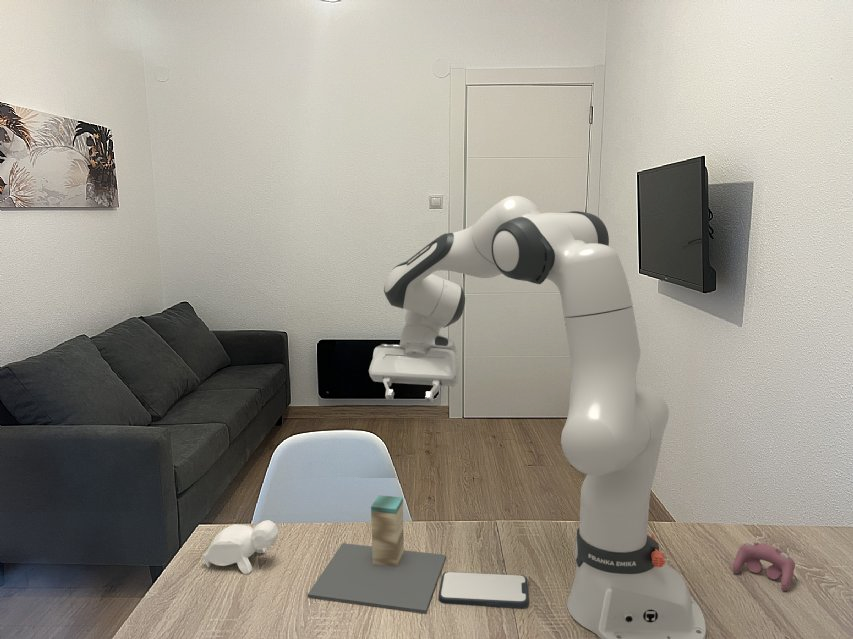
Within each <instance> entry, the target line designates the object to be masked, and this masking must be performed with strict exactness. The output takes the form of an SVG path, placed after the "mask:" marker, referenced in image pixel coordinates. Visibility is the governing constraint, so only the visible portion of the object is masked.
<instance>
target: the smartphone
mask: <svg viewBox="0 0 853 639" xmlns="http://www.w3.org/2000/svg"><path fill="white" fill-rule="evenodd" d="M528 585H529V584H528V578H527V577H526V576H525V575H521V574H508V573H507V574H506V573H503V574H502V573H501V574H500V573H484V572H483V573H482V572H462V571H461V572H460V571H459V572H458V571H445V572H444V573H442V575H441V580H440V586H439V590H438V601H439V602H440V603H442V604H446V605H447V604H449V605H462V606H476V607H490V608H506V609H522V610H523V609H526V608H528V606H529V586H528Z"/></svg>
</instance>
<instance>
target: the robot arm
mask: <svg viewBox="0 0 853 639" xmlns="http://www.w3.org/2000/svg"><path fill="white" fill-rule="evenodd" d="M608 231H609V230H608V229H607V227H606V224H605V223H604V222H603V220H602V219H601V218H600V217H599V216H598V215H595V214H592V213H589V212H585V211H577V210H574V211H562V212H550V211H549V212H541V211H540V209H539V208H538V206H537V205H536V204H535V203H534V202H533V201H531V200H530V199H529V198H528V197H527V198H526V197H524V196H521V195H511V196H510V195H509V196H507V197H505V198H503V199H501V200H500V201H498V202H497V203H495V204H494V205H493V206H491V207H490V208H489V209H488V210H486V211H485V213H484V214H482V215H481V216H480V217H479V219H477V220H476V222H475V223H474V224H472V225H471V226H468V227H466V228H464V229H460V230H459V231H453V232H447V233H443V234H441V235H439V236H438V237H436V238H435V239H433V240H432V241H431V242H430V243H428V244H427V245H425V246H424V247H423V248H422V249H420V250H418V251H417V253H415V254H414V255H413V256H411V257H410V258H409V259H408V260H406V261H404V262H401V263H399V264H398V265H395V266H394V267H393V268H392V270H391V271H390V272H389V274H388V275H387V277H386V280H385V283H384V287H383V293H384V295H385V298H386V299H387V302H389V305H391V306H392V307H396V308H399V309H403V310H406V311H405V312H406V313H405V318H404V320H405V324H404V326H403V328H402V331H401V336H400V342H399V344H395V343H393V344H387V343H381V344H380V345H378V346H376V347H375V348H374V349H373V353H372V354H373V355H372V360H371V362H370V365H369V369H368V373H369V375H368V376H369V377H370V378H371V380H372V381H373V382H375V383H376V382H378V383H383V384H384V387H385V395H384V397H385V399H386V400H394V396H395V392H394V389H393V388H390V387H391V386H392V384H393V383H394V384H407V385H425V386H432V387H431V389H430V391H425V397H424V400H425V402H427V403H433V402H434V396H436V395H437V393H438V392H439V391H440V390H441V386H442V387H455V386H456V385H457V384H458V383H459V378H460V377H459V372H460V371H459V364H458V363H459V362H458V358H457V348H456V344H455V341H454V340H453V339H451V338H448V337H446V336H442V335H440V330H441V329H442V328H443V329H444V328H447V327H449V326H451V325H453V324H455V323H456V322H458V321H459V320H460V319H461V317H462V315H463V312H464V309H465V306H466V295H465V292H464V289H463V287H462V286H461V285H460V284H457V283H456V282H454V281H452V280H448V279H446V278H443V277H440V276H438V275H436V274H434V272H438V271H447V272H453V273H459V274H463V275H467V276H471V277H474V278H479V279H480V278H481V279H490V278H491V279H492V278H495V277H498V276H500V275H503V276H505V277H507V278H509V279H513V280H517V281H523V282H528V283H532V284H535V285H536V284H537V285H541V284H543V283H544V282H545V281H546V280H549V281H551V282H552V283H553V284H554V285H555V286H556V287H557V290H558V291H559V295H560V298H561V307H562V313H563V318H564V320H563V321H564V326H565V332H566V337H567V344H568V350H569V356H570V387H569V388H570V390H569V391H570V392H569V405H568V413H567V416H566V417H567V419H566V421H565V424H564V426H563V428H562V431H561V436H560V443H561V448H562V452H563V455H564V456H565V458H566V460H567V461H568V462H569V463H570V464H571V466H572V467H573V468H575V469H576V470H577V471H579V472H581V473H582V474H585V475H586V476H585V478H584V480H583V482H582V484H581V487H580V505H579V506H580V508H579V527H577V530H576V536H575V547H574V548H575V550H574V551H575V552H574V553H575V554H574V558H575V564H576V569H575V574H574V578H573V581H572V582H573V583H572V587H571V589H570V593H569V595H568V598H567V601H566V604H567V605H566V607H567V611H568V612H569V614H570V616H571V617H572V618H573V619H574V620H575V621H576V622H577V623H578V624H579V625H581V626H582V627H584V628H585V629H587V630H589V631H591V632H592V633H594V634H595V635H597V636H598V637H599V639H706V638H707V637H706V636H707V627H706V626H707V625H706V620H705V616H704V614H703V611H702V609H701V607H700V606H699V604H698V603H697V601H696V600H695V599H694V598H693V597H692V596H691V593H690V590H689V587H688V585H687V584H686V581H685V579H684V578H683V576H682V575H681V573H679V572H678V571H677V570H676V569H674V568H673V567H671V566H670V565H669V564H668V563H666V560H665V558H664V556H665V555H664V553H663V552H662V551H661V550H660V546H659V545H660V544H659V543H658V542H657V540H656V538H655V536H654V534H653V533H651V536H649V535H648V527H649V513H650V512H649V511H650V510H649V509H650V499H651V493H652V488H653V487H652V486H653V483H654V479H655V474H656V470H657V466H658V461H659V456H660V453H661V452H660V451H661V446H662V440H663V437H664V433H665V430H666V427H667V425H668V421H669V417H670V415H669V408H668V404H667V402H666V400H665V399H664V397H663V396H662V394H661V393H659V392H658V391H657V390H656V389H654V388H652V387H650V386H647V385H643V384H637V372H638V366H639V363H640V358H641V347H640V341H639V335H638V328H637V323H636V316H635V311H634V306H633V301H632V300H633V299H632V295H631V291H630V285H629V283H628V279H627V276H626V272H625V270H624V267H623V264H622V261H621V259H620V256H619V255H618V253H617V251H616V250H615V249H614V248H613V247H611V246H609V244H610V236H609V232H608Z"/></svg>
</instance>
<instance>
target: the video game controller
mask: <svg viewBox="0 0 853 639" xmlns="http://www.w3.org/2000/svg"><path fill="white" fill-rule="evenodd" d="M761 561H765V562H768V563H770V564H771V565H769V566H768V567H767V568H766V570H765V572H766V575H767V577H768V578H770V579H771V580H773V581H774V580H779V579H780V578H781V579H780V587H781V591H783V592H787V591H788V590H789V588H790V586H791V584H792V580H793V577H794V571H795V568H796V564H795V561H794V559H793V558H792V557H790V556H789V554H786V552H784V551H782V550H780V549H778V548H776V547H774V546H772V545H769V544H765V543H760V542H752V541H751V542H750V541H749V542H746V543H743V544H741V546H740V547H739V549H738V550H737V553H736V554H735V557H734V561H733V564H732V573H733V574H735V575H737V574H739V573H740V572H741V571H742V570H743V567H744V566H745V565H746V564H747V566H748V567H747V568H748V569H749V571H750V572H752V573H755V574H758V573H759V574H760V573H761V572H762V571H763V564H762V562H761Z"/></svg>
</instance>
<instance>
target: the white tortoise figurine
mask: <svg viewBox="0 0 853 639" xmlns="http://www.w3.org/2000/svg"><path fill="white" fill-rule="evenodd" d="M278 536H279V528H278V527H277V525H276V523H274V522H273V521H272V520H269V519H267V520H263V521H261V522H260V523H259V522H258V523H257V525H256V526H254V527H252V526H250V525H246V524H237V523H236V524H235V523H234V524H231V525H229V526H227V527H225V528H223V529H222V530H220V531H219V532H218V533H217V534H216V535H215V537H213V539H212V541H211V544H210V545H209V547H208V548H207V550H206V552H204V553H203V554H202V555H201V556H202V559H204V560H205V561H204V563H205V565H206V568H210V567H211V564H213V565H215V566H222V567H225V566H229V565H233V564H237V566H238V569H239V570H240V572H242V573H243V575H249V574H250V573H251V572H252V570H253V565H252V564H251V562H250V559H249V558H250V557H251V556H252V555H254V553H255V552H256V553H257V554H259V555H261V553H263V554H265V553H266V550H267V548H270V547H271V546H272V545H273V544H274V543H275V542H276V541H277V539H278Z"/></svg>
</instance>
